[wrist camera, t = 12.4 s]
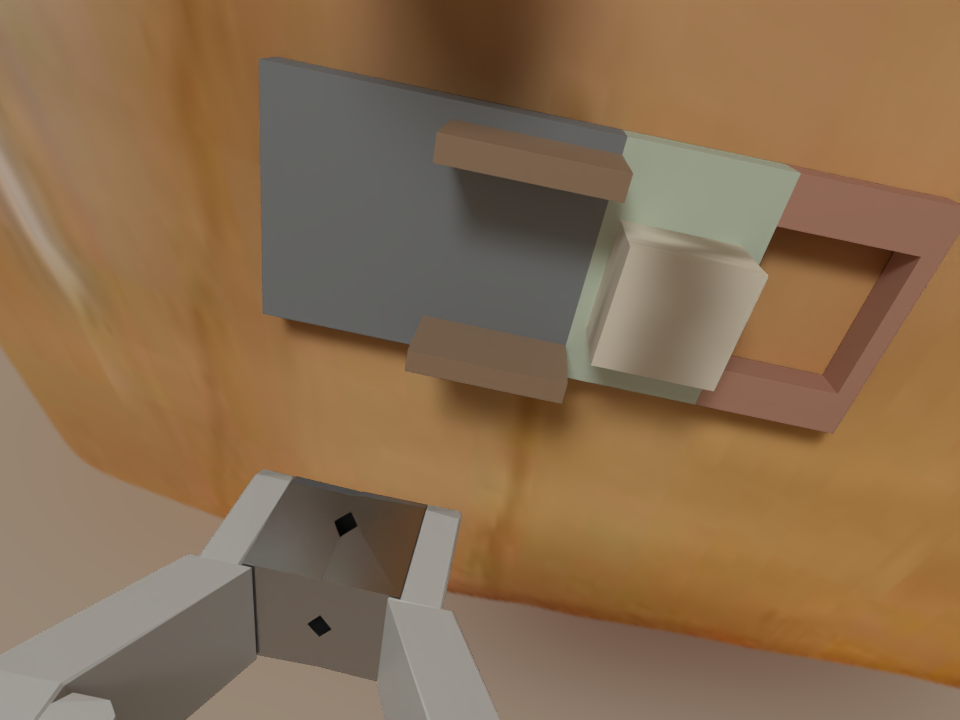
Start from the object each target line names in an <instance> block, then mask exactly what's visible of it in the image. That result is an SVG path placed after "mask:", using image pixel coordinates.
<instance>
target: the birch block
mask: <svg viewBox="0 0 960 720" xmlns="http://www.w3.org/2000/svg"><path fill="white" fill-rule="evenodd" d="M767 279H768V275H767V274H766V273H765V272H764V270H763V269H762V268H761V267H760V266H759V265H758V264H757V263H756V261H755V260H754V259H753V258H752V257H751V256H750V255H749V254H748V252H747V251H746V250H745V249H744V248H743V247H742V246H741V245H736V244H732V243H727V242H722V241H718V240H713V239H708V238H704V237H699V236H694V235H690V234H685V233H680V232H676V231H671V230H666V229H661V228H657V227H652V226H647V225H643V224H638V223H633V222H629V221H624V220H620V222H619V225H618V229H617V232H616V235H615V238H614V241H613V244H612V248H611V251H610V254H609V257H608V260H607V263H606V267H605V270H604V273H603V276H602V279H601V283H600V286H599V289H598V292H597V295H596V298H595V302H594V305H593V308H592V311H591V314H590V317H589V321H588V324H587V327H586V330H587V338H588V346H589V354H590V362H591V365H592V366H597V367H601V368H606V369H611V370H615V371H620V372H625V373H630V374H634V375H639V376H644V377H648V378H653V379H658V380H662V381H667V382H672V383H677V384H681V385H686V386H691V387H695V388H700V389H705V390H709V391H714V390H715V388H716V386H717V384H718V382H719V380H720V378H721V375H722V373H723V371H724V369H725V367H726V365H727V363H728V361H729V359H730V356H731V354H732V352H733V350H734V348H735V346H736V344H737V342H738V340H739V338H740V335H741V333H742V331H743V329H744V327H745V325H746V323H747V321H748V319H749V316H750V314H751V312H752V310H753V308H754V306H755V304H756V302H757V300H758V298H759V295H760V293H761V291H762V289H763V287H764V285H765V283H766V281H767Z"/></svg>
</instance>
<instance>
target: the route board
mask: <svg viewBox="0 0 960 720" xmlns="http://www.w3.org/2000/svg"><path fill="white" fill-rule="evenodd" d="M259 101H260V165H261V229H262V293H263V314H267V315H271V316H276V317H281V318H286V319H290V320H295V321H300V322H305V323H309V324H314V325H319V326H324V327H328V328H333V329H338V330H343V331H347V332H352V333H357V334H362V335H366V336H371V337H376V338H381V339H385V340H390V341H395V342H400V343H404V344H409V345H410V346H409V348H408V351H407V358H406V366H405V371H408V372H412V373H417V374H422V375H427V376H431V377H436V378H441V379H446V380H450V381H455V382H460V383H465V384H469V385H474V386H479V387H484V388H488V389H493V390H498V391H503V392H507V393H512V394H517V395H522V396H526V397H531V398H536V399H541V400H545V401H550V402H555V403H560V404H562V401H563V398H564V395H565V392H566V389H567V385H568V378H571V379H576V380H580V381H585V382H590V383H595V384H599V385H604V386H609V387H614V388H618V389H623V390H628V391H633V392H637V393H642V394H647V395H652V396H656V397H661V398H666V399H671V400H675V401H680V402H685V403H690V404H694V405H699V406H704V407H709V408H713V409H718V410H723V411H728V412H732V413H737V414H742V415H747V416H751V417H756V418H761V419H766V420H770V421H775V422H780V423H785V424H789V425H794V426H799V427H804V428H808V429H813V430H818V431H823V432H827V433H832V434H833V433H834V432H835V430H836V429H837V427H838V425H839V424H840V422H841V421H842V419H843V417H844V416H845V414H846V413H847V411H848V409H849V408H850V406H851V405H852V403H853V402H854V400H855V398H856V397H857V395H858V394H859V392H860V390H861V389H862V387H863V386H864V384H865V382H866V381H867V379H868V378H869V376H870V375H871V373H872V371H873V370H874V368H875V367H876V365H877V363H878V362H879V360H880V359H881V357H882V355H883V354H884V352H885V351H886V349H887V348H888V346H889V344H890V343H891V341H892V340H893V338H894V336H895V335H896V333H897V332H898V330H899V328H900V327H901V325H902V324H903V322H904V321H905V319H906V317H907V316H908V314H909V313H910V311H911V309H912V308H913V306H914V305H915V303H916V301H917V300H918V298H919V297H920V295H921V294H922V292H923V290H924V289H925V287H926V286H927V284H928V282H929V281H930V279H931V278H932V276H933V274H934V273H935V271H936V270H937V268H938V267H939V265H940V263H941V262H942V260H943V259H944V257H945V255H946V254H947V252H948V251H949V249H950V247H951V246H952V244H953V243H954V241H955V240H956V238H957V236H958V235H959V233H960V203H957V202H955V201H953V200H950V199H948V198H943V197H939V196H934V195H929V194H924V193H920V192H915V191H910V190H905V189H901V188H896V187H891V186H886V185H882V184H877V183H872V182H867V181H863V180H858V179H853V178H848V177H844V176H839V175H834V174H830V173H825V172H820V171H815V170H811V169H806V168H801V167H796V166H792V165H787V164H782V163H777V162H773V161H768V160H763V159H758V158H754V157H749V156H744V155H739V154H735V153H730V152H725V151H720V150H716V149H711V148H706V147H702V146H697V145H692V144H687V143H683V142H678V141H673V140H668V139H664V138H659V137H654V136H649V135H645V134H640V133H635V132H630V131H626V130H621V129H616V128H611V127H607V126H602V125H597V124H592V123H588V122H583V121H578V120H574V119H569V118H564V117H559V116H555V115H550V114H545V113H540V112H536V111H531V110H526V109H521V108H517V107H512V106H507V105H502V104H498V103H493V102H488V101H483V100H479V99H474V98H469V97H465V96H460V95H455V94H450V93H446V92H441V91H436V90H431V89H427V88H422V87H417V86H412V85H408V84H403V83H398V82H393V81H389V80H384V79H379V78H374V77H370V76H365V75H360V74H355V73H351V72H346V71H341V70H337V69H332V68H327V67H322V66H318V65H313V64H308V63H303V62H299V61H294V60H289V59H284V58H280V57H271V58H262V59H259ZM620 220H624V221H629V222H633V223H638V224H643V225H647V226H652V227H657V228H661V229H666V230H671V231H676V232H680V233H685V234H690V235H694V236H699V237H704V238H708V239H713V240H718V241H722V242H727V243H732V244H736V245H741V246H742V247H743V248H744V249H745V250H746V251H747V252H748V254H749V255H750V256H751V257H752V258H753V259H754V260H755V261H756V263H757V264H758V265H759V264H760V262H761V260H762V257H763V255H764V253H765V251H766V249H767V246H768V244H769V242H770V240H771V238H772V235H773V233H774V231H775V229H776V227H782V228H787V229H791V230H796V231H801V232H806V233H810V234H815V235H820V236H825V237H829V238H834V239H839V240H844V241H848V242H853V243H858V244H863V245H867V246H872V247H877V248H882V249H886V250H891V251H894V253H893V255H892V256H891V258H890V260H889V261H888V263H887V265H886V267H885V268H884V270H883V272H882V274H881V275H880V277H879V279H878V280H877V282H876V284H875V286H874V287H873V289H872V291H871V293H870V294H869V296H868V298H867V299H866V301H865V303H864V305H863V306H862V308H861V310H860V312H859V313H858V315H857V317H856V318H855V320H854V322H853V324H852V325H851V327H850V329H849V331H848V332H847V334H846V336H845V337H844V339H843V341H842V343H841V344H840V346H839V348H838V350H837V351H836V353H835V355H834V356H833V358H832V360H831V362H830V363H829V365H828V367H827V369H826V370H825V372H824V374H823V375H820V374H815V373H810V372H805V371H801V370H796V369H791V368H786V367H782V366H777V365H772V364H767V363H763V362H758V361H753V360H748V359H744V358H739V357H734V356H730V359H729V361H728V363H727V365H726V367H725V369H724V371H723V373H722V375H721V378H720V380H719V382H718V384H717V386H716V388H715V390H714V391H709V390H705V389H700V388H695V387H691V386H686V385H681V384H677V383H672V382H667V381H662V380H658V379H653V378H648V377H644V376H639V375H634V374H630V373H625V372H620V371H615V370H611V369H606V368H601V367H597V366H592V365H591V362H590V354H589V346H588V338H587V330H586V327H587V324H588V321H589V317H590V314H591V311H592V308H593V305H594V302H595V298H596V295H597V292H598V289H599V286H600V283H601V279H602V276H603V273H604V270H605V267H606V263H607V260H608V257H609V254H610V251H611V248H612V244H613V241H614V238H615V235H616V232H617V229H618V225H619V222H620Z"/></svg>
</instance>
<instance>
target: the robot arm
mask: <svg viewBox="0 0 960 720" xmlns="http://www.w3.org/2000/svg"><path fill="white" fill-rule="evenodd" d="M427 506H428V507H427ZM461 517H462V515H461V512H460V511H455V510H450V509H446V508H441V507H436V506H431V505H426V504H421V503H417V502H412V501H407V500H402V499H397V498H392V497H387V496H382V495H377V494H372V493H368V492H360V491H356V490H351V489H347V488H343V487H339V486H335V485H331V484H327V483H322V482H318V481H314V480H310V479H306V478H302V477H298V476H297V477H295V476H291V475H286V474H282V473H278V472H274V471H270V470H266V469H263V470H262V471H260V472H259V473H258V474H256V475H255V476H254V477H253V479H252V480H251V481H250V483H249V484H248V486H247V487H246V489H245V490H244V492H243V493H242V494H241V496H240V497H239V499H238V500H237V502H236V503H235V505H234V506H233V507H232V509H231V510H230V512H229V513H228V515H227V516H226V518H225V519H224V521H223V522H222V523H221V525H220V526H219V528H218V529H217V531H216V532H215V534H214V535H213V536H212V538H211V539H210V541H209V542H208V544H207V545H206V547H205V548H204V550H203V551H202V552H201V554H200V555H193V554H187V555H185V556H183V557H181V558H180V559H177V560H176V561H174V562H172V563H170V564H168V565H166V566H164V567H163V568H161V569H159V570H157V571H155V572H153V573H152V574H150V575H148V576H146V577H144V578H142V579H140V580H138V581H137V582H135V583H133V584H131V585H129V586H128V587H126V588H124V589H122V590H120V591H118V592H116V593H114V594H112V595H111V596H109V597H107V598H105V599H103V600H101V601H99V602H98V603H96V604H94V605H92V606H90V607H88V608H86V609H84V610H83V611H81V612H79V613H77V614H75V615H74V616H71V617H70V618H68V619H66V620H64V621H62V622H60V623H58V624H57V625H55V626H53V627H51V628H49V629H48V630H45V631H44V632H42V633H40V634H38V635H36V636H34V637H32V638H31V639H29V640H27V641H25V642H23V643H21V644H20V645H18V646H16V647H14V648H12V649H10V650H8V651H6V652H5V653H3V654H1V655H0V720H186V719H187V718H188V717H189V716H191V715H192V714H193V713H194V712H195V711H196V710H198V709H199V708H200V707H201V706H202V705H203V704H204V703H206V702H207V701H208V700H209V699H210V698H211V697H213V696H214V695H215V694H216V693H217V692H219V691H220V690H221V689H222V688H223V687H224V686H225V685H227V684H228V683H229V682H230V681H232V680H233V679H234V678H235V677H236V676H237V675H239V674H240V673H241V672H242V671H243V670H244V669H245V668H247V667H248V666H249V665H250V664H251V663H253V662H254V661H255V660H256V658H257V656H256V655H260V656H266V657H271V658H276V659H282V660H287V661H292V662H297V663H302V664H308V665H313V666H318V667H322V668H326V669H330V670H334V671H338V672H342V673H346V674H350V675H353V676H358V677H361V678H366V679H369V680H373V681H377V688H378V693H379V697H380V701H381V705H382V709H383V713H384V718H385V720H500V718H499V715H498V713H497V711H496V709H495V706H494V704H493V702H492V699H491V697H490V695H489V692H488V690H487V688H486V685H485V683H484V681H483V678H482V676H481V674H480V672H479V669H478V667H477V665H476V662H475V660H474V658H473V655H472V653H471V651H470V649H469V647H468V644H467V642H466V639H465V637H464V635H463V633H462V630H461V628H460V626H459V623H458V621H457V619H456V616H455V615H454V612H453V611H449V610H445V609H443V605H444V600H445V596H446V591H447V586H448V581H449V576H450V571H451V566H452V561H453V557H454V552H455V547H456V542H457V537H458V532H459V527H460V522H461Z"/></svg>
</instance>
